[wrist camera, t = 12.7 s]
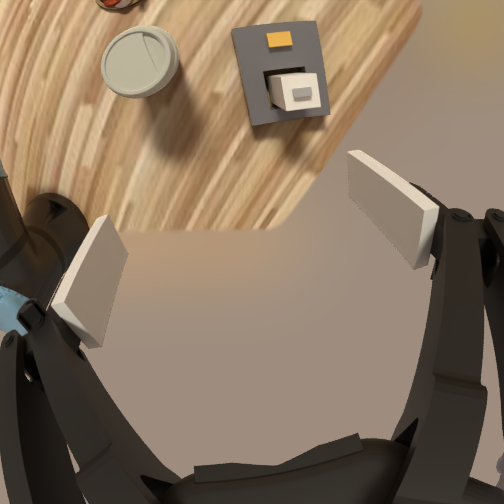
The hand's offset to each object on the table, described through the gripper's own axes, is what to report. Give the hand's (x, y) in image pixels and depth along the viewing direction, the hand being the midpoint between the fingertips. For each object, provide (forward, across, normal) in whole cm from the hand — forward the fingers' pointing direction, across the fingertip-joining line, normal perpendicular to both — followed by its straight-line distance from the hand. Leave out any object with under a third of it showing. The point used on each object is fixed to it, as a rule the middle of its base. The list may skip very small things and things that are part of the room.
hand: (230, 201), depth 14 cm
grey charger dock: (+27, +10, +5) cm, 30 cm away
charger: (+27, +10, +3) cm, 29 cm away
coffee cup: (+28, -6, +11) cm, 31 cm away
